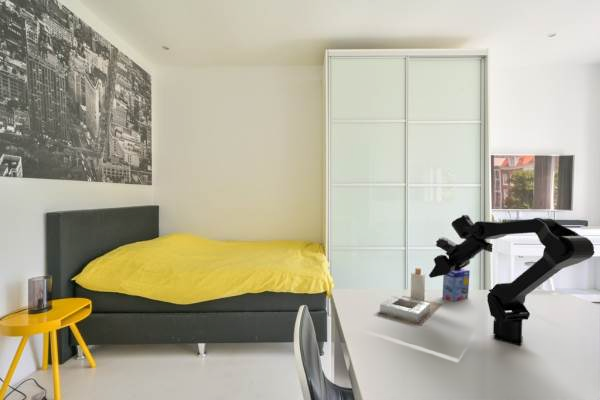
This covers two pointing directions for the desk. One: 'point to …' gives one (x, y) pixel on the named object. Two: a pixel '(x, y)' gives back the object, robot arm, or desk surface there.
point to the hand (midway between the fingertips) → (435, 274)
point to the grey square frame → (405, 308)
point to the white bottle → (418, 285)
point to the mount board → (433, 309)
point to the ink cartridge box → (456, 285)
